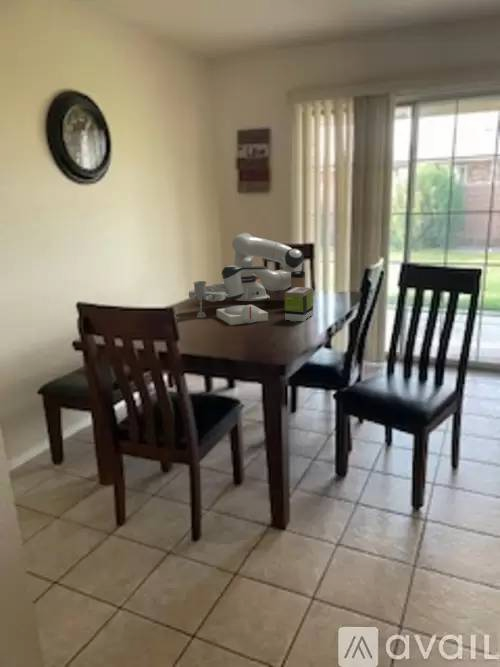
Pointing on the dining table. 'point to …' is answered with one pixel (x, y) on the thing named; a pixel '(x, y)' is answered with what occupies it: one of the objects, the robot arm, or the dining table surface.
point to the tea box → (298, 304)
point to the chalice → (200, 295)
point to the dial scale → (242, 314)
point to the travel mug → (297, 279)
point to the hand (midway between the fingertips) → (199, 298)
